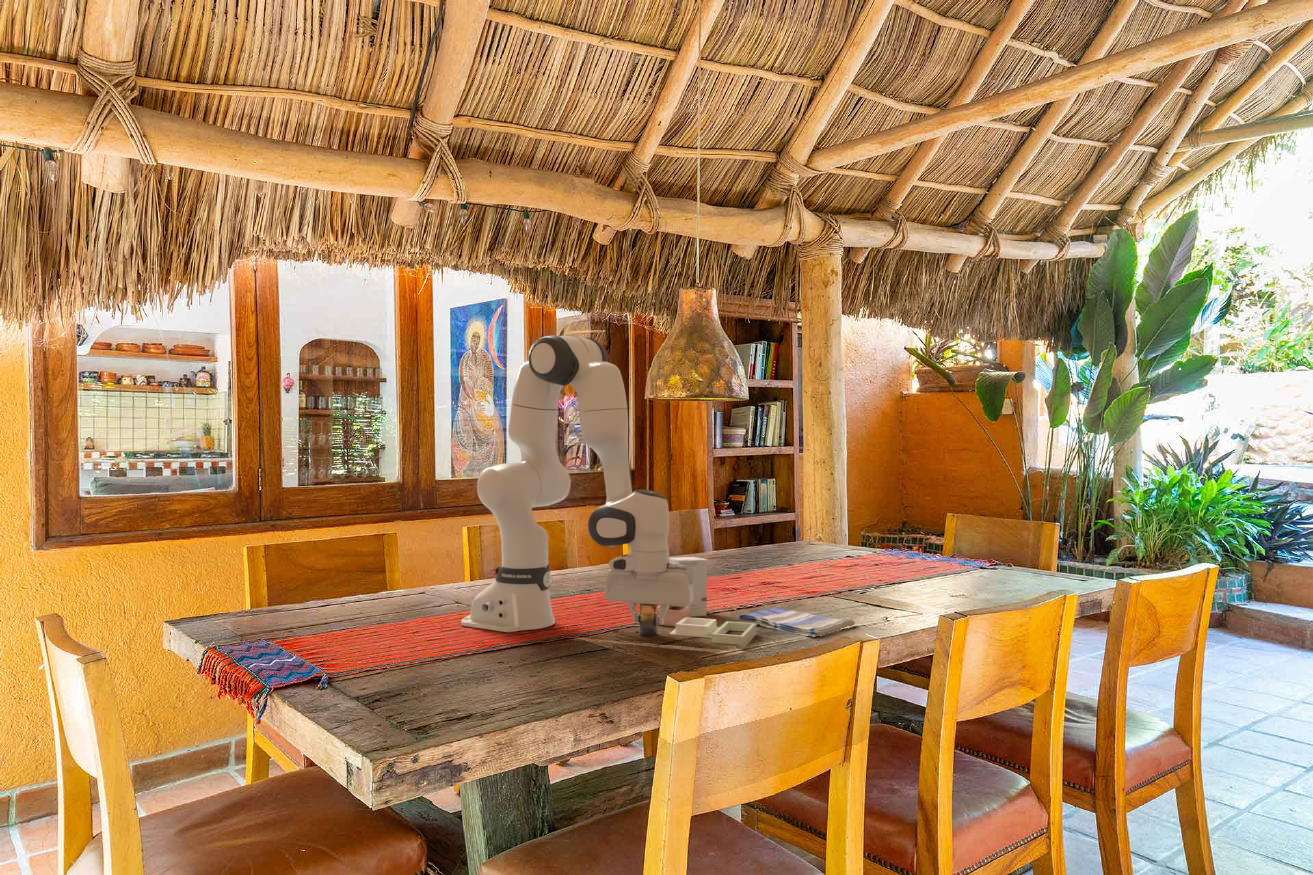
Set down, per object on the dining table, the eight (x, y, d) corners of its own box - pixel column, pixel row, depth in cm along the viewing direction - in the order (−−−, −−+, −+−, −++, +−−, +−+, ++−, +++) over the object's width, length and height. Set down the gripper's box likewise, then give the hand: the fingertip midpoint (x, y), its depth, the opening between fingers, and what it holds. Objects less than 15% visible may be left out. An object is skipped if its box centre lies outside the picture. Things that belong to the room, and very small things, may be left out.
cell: (636, 636, 194) (637, 602, 194) (642, 631, 198) (643, 598, 198) (653, 637, 193) (654, 603, 193) (659, 633, 197) (659, 600, 197)
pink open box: (653, 627, 206) (653, 609, 206) (662, 621, 212) (662, 603, 212) (681, 629, 203) (681, 611, 203) (690, 623, 210) (690, 605, 210)
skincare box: (677, 621, 213) (677, 560, 212) (667, 616, 218) (667, 557, 218) (708, 618, 216) (708, 558, 216) (697, 613, 221) (697, 555, 221)
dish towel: (815, 641, 195) (815, 629, 195) (735, 624, 212) (735, 612, 212) (858, 629, 207) (858, 617, 207) (779, 613, 224) (779, 602, 224)
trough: (712, 645, 189) (712, 633, 189) (726, 632, 201) (726, 621, 201) (743, 648, 186) (743, 636, 186) (756, 634, 199) (756, 623, 199)
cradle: (669, 637, 196) (669, 624, 196) (681, 628, 204) (681, 616, 204) (712, 641, 193) (712, 627, 193) (722, 631, 201) (722, 619, 201)
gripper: (697, 562, 195) (696, 623, 195) (612, 557, 201) (611, 616, 202) (690, 567, 189) (689, 630, 189) (602, 561, 195) (601, 622, 196)
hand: (648, 623), depth 196 cm, fingers closed on cell, 4 cm apart
